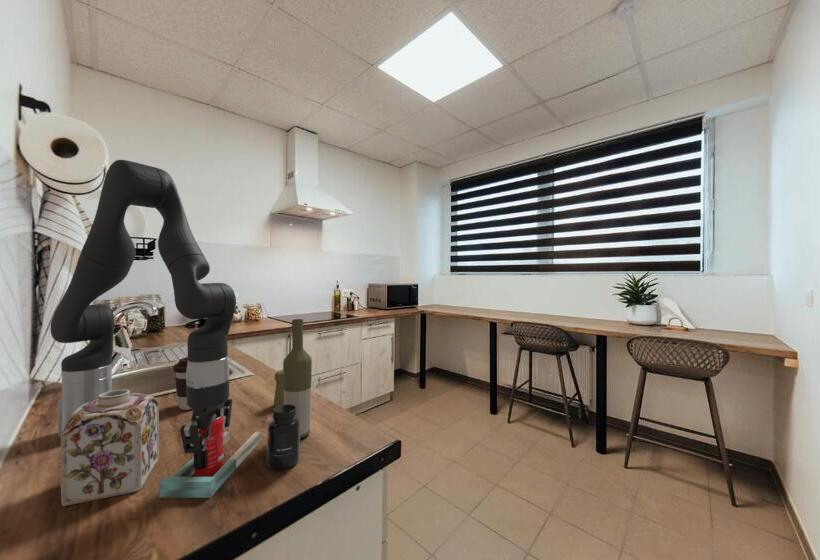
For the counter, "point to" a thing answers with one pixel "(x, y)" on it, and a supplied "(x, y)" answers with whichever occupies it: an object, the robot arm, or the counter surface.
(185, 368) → the coffee cup
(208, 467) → the beverage can
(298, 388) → the bottle
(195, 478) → the beam
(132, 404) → the decorative jar
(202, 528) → the counter surface
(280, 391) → the cork
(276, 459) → the supplement bottle
